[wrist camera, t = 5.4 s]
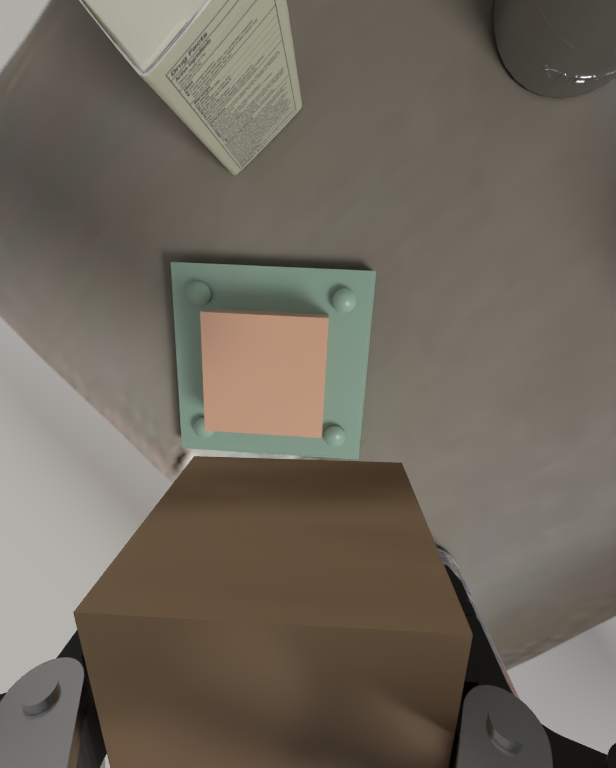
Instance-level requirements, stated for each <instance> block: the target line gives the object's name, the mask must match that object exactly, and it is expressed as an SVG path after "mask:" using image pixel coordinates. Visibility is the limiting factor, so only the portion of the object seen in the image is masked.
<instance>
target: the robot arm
mask: <svg viewBox="0 0 616 768" xmlns="http://www.w3.org/2000/svg"><path fill="white" fill-rule="evenodd" d="M494 34H495V39H496V44H497V49H498V51H499V54H500V56H501V58H502V61H503V63H504V65H505V67H506V68H507V70H508V71H509V72H510V74H511V75H512V76H513V78H514V79H515V80H516V81H518V82H519V83H520V84H521V85H522V86H524V87H525V88H526V89H528V90H530V91H532V92H535V93H537V94H539V95H541V96H548V97H554V98H563V97H574V96H577V95H580V94H583V93H586V92H589V91H592V90H594V89H596V88H597V87H599V86H601V85H603V84H605V83H606V82H608V81H609V80H611V79H612V78H614V77H615V76H616V0H495V4H494ZM444 566H445V569H446V571H447V573H448V576H449V578H450V581H451V583H452V585H453V588H454V590H455V593H456V595H457V597H458V600H459V602H460V605H461V607H462V610H463V612H464V614H465V617H466V619H467V622H468V624H469V626H470V629H471V631H472V634H473V637H472V642H471V648H470V653H469V659H468V664H467V670H466V675H465V680H464V686H463V691H462V697H461V702H460V708H459V713H458V719H457V724H456V730H455V735H454V741H453V746H452V752H451V757H450V763H449V768H616V743H615V744H614V745H612V747H611V748H610V750H609V752H608V755H606V754H604V753H601V752H599V751H596V750H594V749H591V748H589V747H587V746H584V745H582V744H579V743H577V742H575V741H572V740H570V739H568V738H565V737H563V736H561V735H559V734H557V733H555V732H553V731H551V730H550V729H548V728H547V727H545V726H544V725H542V724H541V723H540V721H539V720H538V719H537V717H536V716H535V715H534V713H533V712H532V711H531V710H530V709H529V708H528V707H527V705H526V704H524V703H523V702H522V701H521V700H520V699H519V698H517V697H516V696H514V694H513V693H512V691H511V689H510V687H509V685H508V683H507V681H506V679H505V677H504V674H503V672H502V670H501V668H500V666H499V663H498V661H497V659H496V657H495V654H494V652H493V650H492V648H491V646H490V643H489V641H488V639H487V637H486V635H485V632H484V630H483V628H482V626H481V623H480V621H479V619H477V615H476V612H475V610H474V608H473V606H472V603H470V599H469V597H468V595H467V592H466V590H465V588H464V586H463V584H462V581H461V580H460V579H459V578H458V577H457V576H456V575H455V573H454V572H453V571H452V570H451V569H450V568H449V567H448V566H447V565H444ZM106 754H107V751H106V747H105V743H104V739H103V734H102V730H101V726H100V722H99V718H98V713H97V709H96V705H95V701H94V697H93V692H92V688H91V684H90V680H89V676H88V671H87V667H86V663H85V659H84V655H83V651H82V646H81V642H80V638H79V634H78V630H77V631H76V632H75V634H74V635H73V636H72V638H71V639H70V641H69V642H68V643H67V645H66V646H65V647H64V649H63V650H62V652H61V653H60V654H59V656H58V657H57V658H56V659H53V660H50V661H47V662H45V663H43V664H41V665H39V666H37V667H35V668H34V669H32V670H31V671H29V672H28V673H26V674H25V675H24V676H22V677H21V679H19V680H18V681H17V682H16V683H15V684H14V685H13V686H12V687H11V688H10V689H9V690H8V692H7V693H4V694H0V768H105V759H104V758H105V756H106Z"/></svg>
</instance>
